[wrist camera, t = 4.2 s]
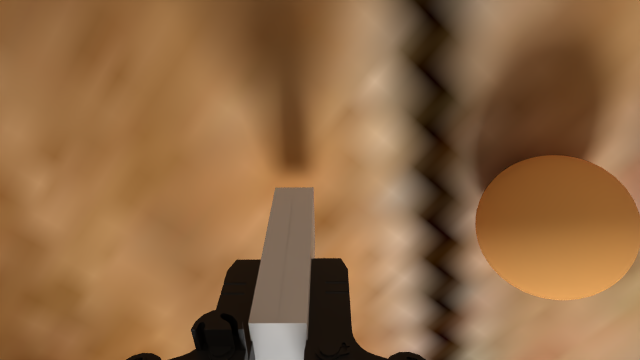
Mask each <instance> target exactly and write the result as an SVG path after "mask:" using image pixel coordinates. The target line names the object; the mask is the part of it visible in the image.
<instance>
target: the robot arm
mask: <svg viewBox="0 0 640 360" xmlns="http://www.w3.org/2000/svg"><path fill="white" fill-rule="evenodd" d="M314 257H315V223H314V188H313V187H311V188H275V192H274V197H273V202H272V207H271V212H270V217H269V222H268V227H267V232H266V237H265V242H264V247H263V252H262V257H261V260H236V261H235V262H234V264H233V265H232V266H231V267H230V268H229V269H228V271H227V274H226V277H225V281H224V285H223V288H222V291H221V295H220V298H219V301H218V305H217V308H216V310H214V311H211V312H209V313H206V314H204V315H203V316H201V317H200V318H199V319H198V320H197V321H196V322H195V323H194V325H193V327H192V329H191V332H192V335H193V339H194V343H195V347H196V349H195V350H193V351H192V352H190V353H188V354H185V355H183V356H180V357H176V358H173V359H169V360H426V359H424V358H423V357H421V356H420V355H418V354H414V353H411V352H399V353H396V354H394V355H392V356H390V357H389V358H388V359H386V358H383V357H380V356H377V355H374V354H371V353H369V352H367V351H365V350H364V349H363V348H361V347H360V346H359V345H358V343H357V342H356V341H355V339H354V337H353V333H352V326H351V311H350V296H349V281H348V269H347V267H346V266H345V264H344V263H343V261H342V259H341V258H317V259H314ZM127 360H161V358H160V357H159V356H157V355H154V354H152V353H141V354H138V355H134V356H132V357H130V358H128V359H127Z"/></svg>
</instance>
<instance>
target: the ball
mask: <svg viewBox="0 0 640 360" xmlns="http://www.w3.org/2000/svg"><path fill="white" fill-rule="evenodd" d="M476 234H477V239H478V243H479V245H480V248H481V250H482V253H483V255H484V256H485V258H486V260H487V261H488V263H489V264H490V266H491V267H492V268H493V269H494V270H495V271H496V272H497V274H498V275H499V276H501V277H502V278H503V279H504V280H506V281H507V282H508V283H509V284H511V285H513V286H514V287H516V288H518V289H520V290H521V291H524V292H526V293H529V294H531V295H534V296H537V297H541V298H546V299H553V300H574V299H581V298H585V297H589V296H592V295H595V294H597V293H600V292H602V291H604V290H606V289H608V288H609V287H611V286H612V285H614V284H615V283H616V282H618V281H619V280H620V279H621V278H622V277H623V276H624V275H625V274H626V272H627V271H628V270H629V268H630V267H631V266H632V264H633V263H634V261H635V259H636V256H637V254H638V251H639V248H640V215H639V212H638V209H637V207H636V204H635V202H634V200H633V198H632V197H631V195H630V194H629V192H628V191H627V189H626V188H625V187H624V186H623V185H622V184H621V183H620V182H619V181H618V180H617V179H616V178H615V177H614V176H613V175H611V174H610V173H609V172H607V171H606V170H604V169H603V168H601V167H599V166H597V165H595V164H593V163H591V162H589V161H586V160H583V159H579V158H575V157H570V156H563V155H545V156H538V157H533V158H529V159H526V160H523V161H520V162H518V163H516V164H514V165H512V166H510V167H508V168H507V169H505V170H504V171H502V172H501V173H500V174H499V175H497V176H496V177H495V178H494V179H493V180H492V182H491V183H490V184H489V185H488V187H487V188H486V190H485V191H484V193H483V195H482V197H481V199H480V202H479V205H478V208H477V212H476Z"/></svg>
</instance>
